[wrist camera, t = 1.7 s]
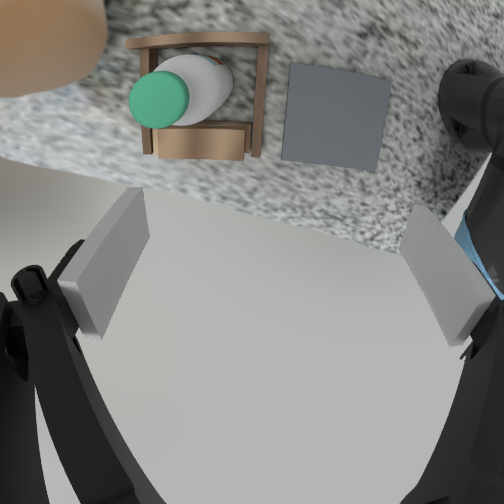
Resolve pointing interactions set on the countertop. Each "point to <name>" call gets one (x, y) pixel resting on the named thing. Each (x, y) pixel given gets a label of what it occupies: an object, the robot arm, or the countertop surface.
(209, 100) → the milk bottle
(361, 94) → the rubber mat
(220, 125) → the frame
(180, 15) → the countertop surface
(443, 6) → the countertop surface
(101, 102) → the countertop surface
